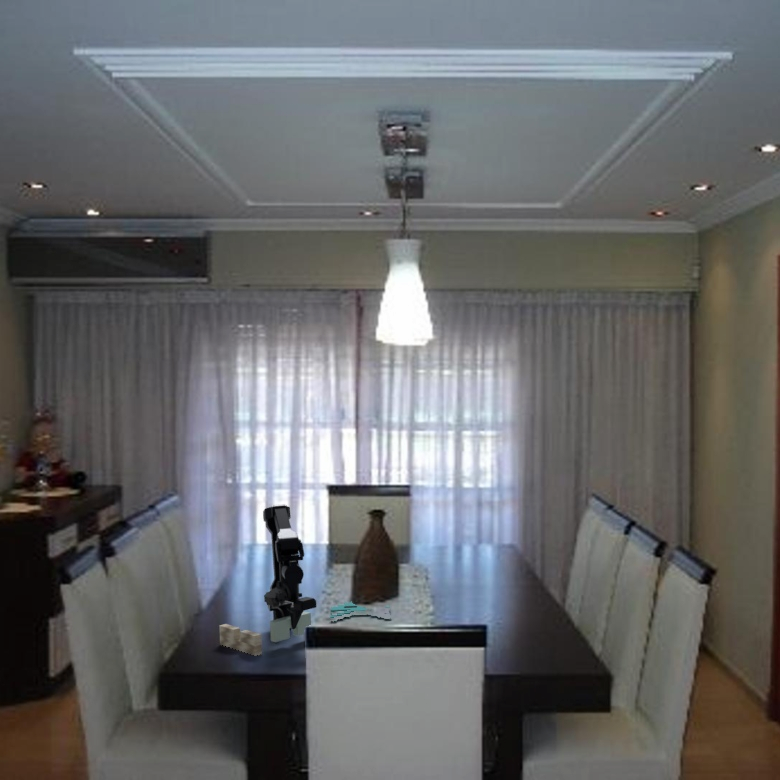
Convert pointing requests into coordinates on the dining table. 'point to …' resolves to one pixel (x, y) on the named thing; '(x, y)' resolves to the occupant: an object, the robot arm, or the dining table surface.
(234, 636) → the birch slotted board
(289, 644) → the dining table surface
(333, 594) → the dining table surface
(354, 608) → the alien figure
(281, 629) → the pale green slotted board
